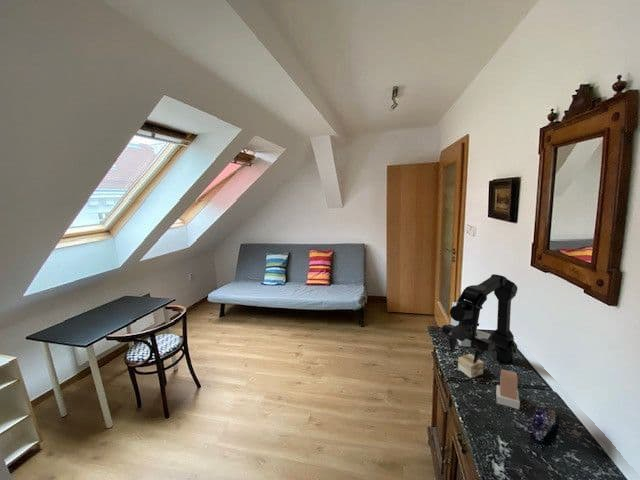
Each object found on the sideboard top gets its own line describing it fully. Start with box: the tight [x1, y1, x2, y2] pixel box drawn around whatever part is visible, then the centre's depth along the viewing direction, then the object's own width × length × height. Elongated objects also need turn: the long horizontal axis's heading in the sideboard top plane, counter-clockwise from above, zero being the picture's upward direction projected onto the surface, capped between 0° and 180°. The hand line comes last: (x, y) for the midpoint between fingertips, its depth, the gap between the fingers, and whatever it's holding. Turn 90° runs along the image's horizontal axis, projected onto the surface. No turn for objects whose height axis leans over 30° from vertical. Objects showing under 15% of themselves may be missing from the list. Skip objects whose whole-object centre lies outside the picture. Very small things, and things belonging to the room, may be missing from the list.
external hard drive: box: [475, 329, 492, 340], centre depth 152 cm, size 2×8×12 cm
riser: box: [495, 384, 521, 410], centre depth 108 cm, size 7×7×3 cm
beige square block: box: [457, 353, 485, 372], centre depth 125 cm, size 7×7×3 cm
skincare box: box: [450, 301, 472, 348], centre depth 153 cm, size 21×5×16 cm, turn 168°
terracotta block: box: [499, 369, 519, 400], centre depth 107 cm, size 5×5×8 cm
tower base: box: [457, 363, 484, 379], centre depth 126 cm, size 7×7×3 cm
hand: (463, 357), depth 111 cm, fingers open, 9 cm apart
